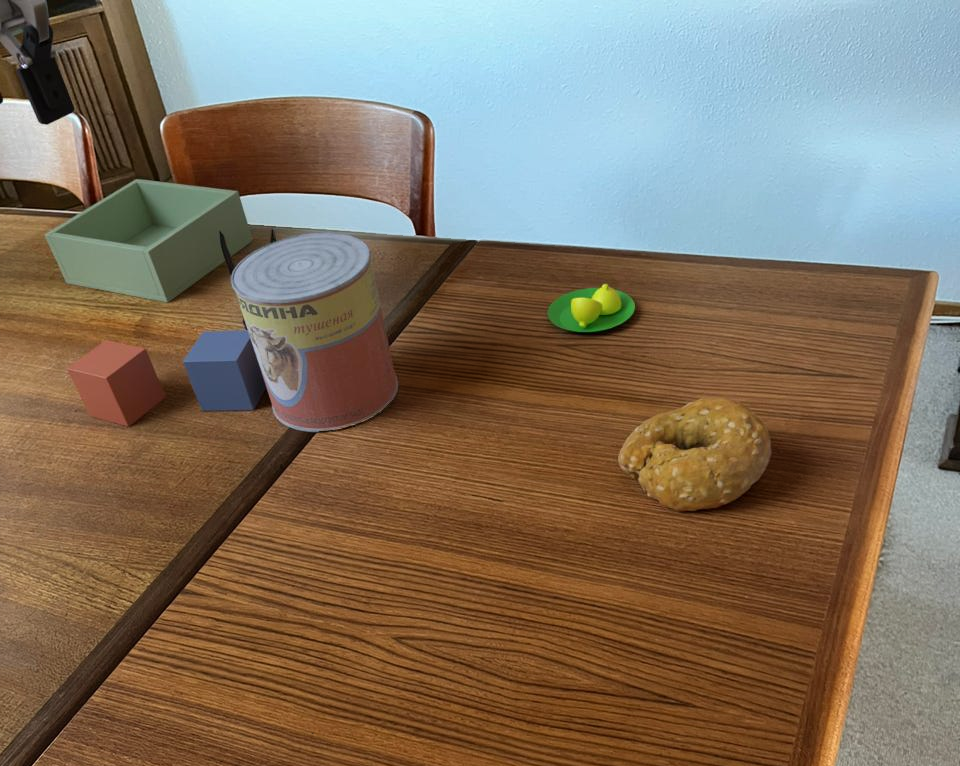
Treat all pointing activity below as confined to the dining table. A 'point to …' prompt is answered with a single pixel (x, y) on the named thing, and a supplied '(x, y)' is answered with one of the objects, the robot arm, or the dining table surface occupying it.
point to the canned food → (317, 329)
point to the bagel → (698, 454)
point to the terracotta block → (116, 382)
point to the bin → (150, 238)
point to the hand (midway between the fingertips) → (21, 113)
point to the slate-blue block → (225, 371)
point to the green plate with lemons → (591, 309)
